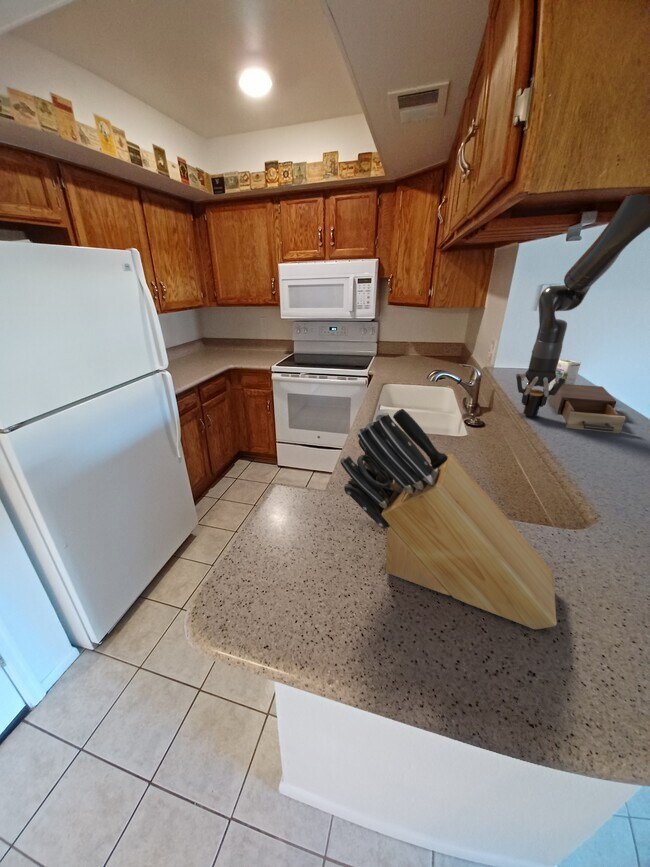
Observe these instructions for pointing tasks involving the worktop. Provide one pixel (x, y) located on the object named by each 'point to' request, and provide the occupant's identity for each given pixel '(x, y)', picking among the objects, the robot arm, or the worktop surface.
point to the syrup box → (566, 371)
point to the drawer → (592, 416)
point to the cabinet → (580, 395)
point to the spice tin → (533, 402)
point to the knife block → (446, 525)
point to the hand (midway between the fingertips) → (532, 405)
